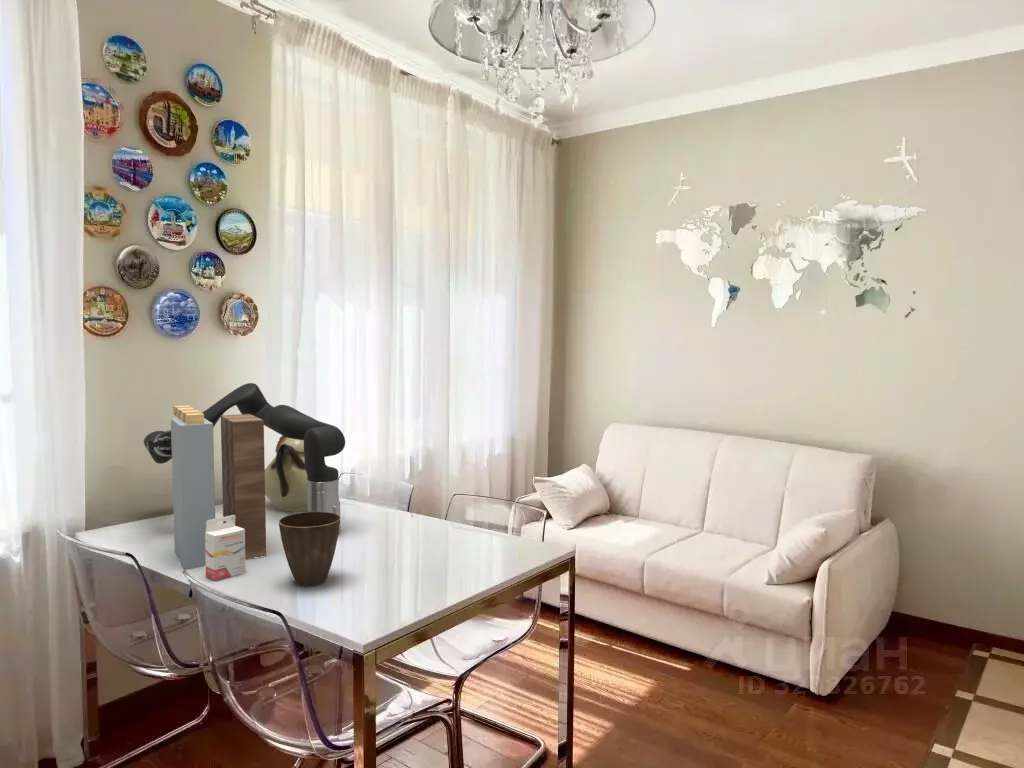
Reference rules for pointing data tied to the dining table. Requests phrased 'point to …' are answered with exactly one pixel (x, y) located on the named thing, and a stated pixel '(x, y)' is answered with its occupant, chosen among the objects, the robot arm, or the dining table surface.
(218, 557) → the ink cartridge box
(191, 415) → the pine slat
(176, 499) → the slate grey pillar
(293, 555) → the plant pot
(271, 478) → the pitcher
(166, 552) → the dining table surface
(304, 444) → the robot arm
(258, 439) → the walnut pillar
